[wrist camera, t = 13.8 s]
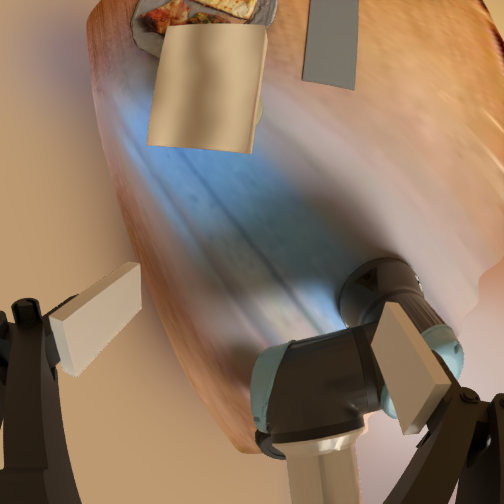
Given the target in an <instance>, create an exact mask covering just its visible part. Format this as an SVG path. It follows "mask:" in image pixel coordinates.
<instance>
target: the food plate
mask: <svg viewBox="0 0 504 504" xmlns="http://www.w3.org/2000/svg"><path fill="white" fill-rule="evenodd" d="M277 1H278V0H139V1H138V3H137V5H136V7H135V10H134V13H133V16H132V19H131V22H130V26H131V29H132V36H133V38H134V42H135V43H136V45H137V46H138V47H139V48H141V49H142V50H144V51H146V52H148V53H150V54H151V55H154V56H155V57H157V58H159V59H160V56H161V52H162V47H163V43H164V38H165V34H166V30H167V26H176V25H191V24H231V23H230V21H228V20H225V19H223V18H221V17H219V16H216V15H215V14H216V12H218V13H219V14H223V15H228V14H229V16H230V17H234V18H238V19H240V18H241V19H244V20H248V21H246V22H245V23H244V24H253V25H265V29H267V28H268V27H269V26H270V24H272V22H273V21H274V18H275V13H276V12H275V11H276V10H277ZM187 4H188V5H187ZM259 5H260V6H259ZM198 8H199V9H198ZM201 10H203V11H202V12H201ZM219 10H220V11H219ZM241 19H240V20H241Z"/></svg>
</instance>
